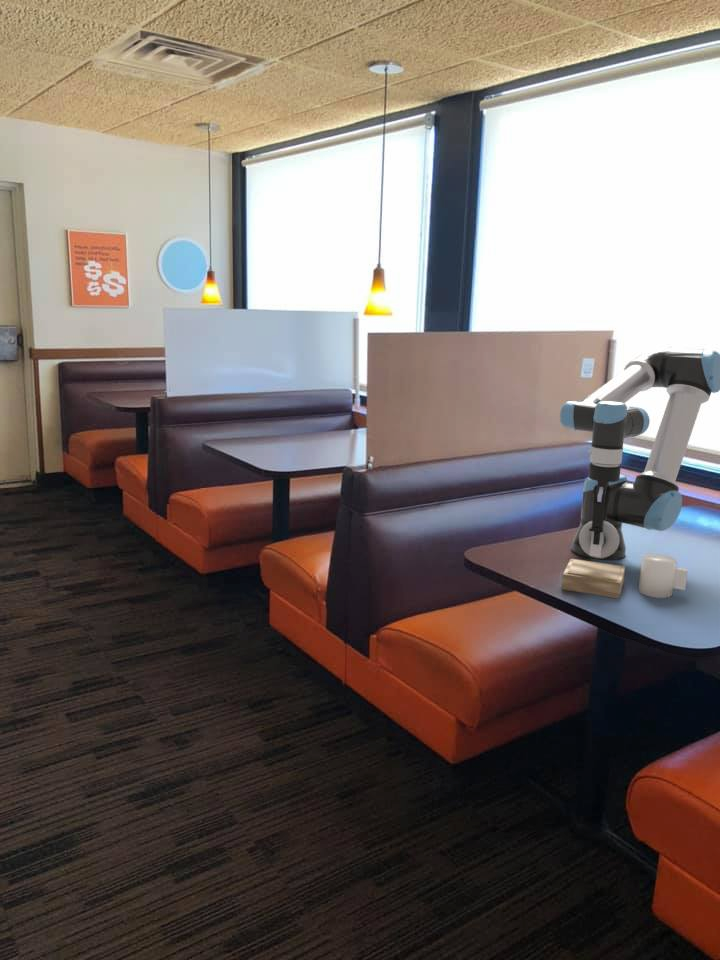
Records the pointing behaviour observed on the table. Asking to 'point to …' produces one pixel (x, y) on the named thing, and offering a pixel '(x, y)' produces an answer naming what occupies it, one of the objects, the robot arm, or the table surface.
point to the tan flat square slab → (593, 578)
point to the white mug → (660, 576)
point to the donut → (609, 534)
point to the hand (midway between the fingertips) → (596, 553)
